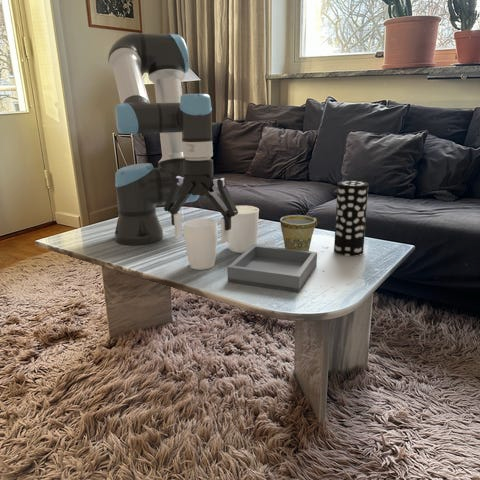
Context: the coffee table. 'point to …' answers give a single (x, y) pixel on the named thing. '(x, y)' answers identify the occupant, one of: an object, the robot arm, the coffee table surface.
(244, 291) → the coffee table surface
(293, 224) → the ceramic cup
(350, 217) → the spotted tube
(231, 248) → the candle holder
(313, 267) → the tray
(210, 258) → the cup
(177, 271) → the coffee table surface
